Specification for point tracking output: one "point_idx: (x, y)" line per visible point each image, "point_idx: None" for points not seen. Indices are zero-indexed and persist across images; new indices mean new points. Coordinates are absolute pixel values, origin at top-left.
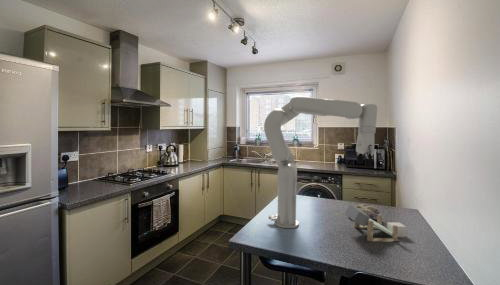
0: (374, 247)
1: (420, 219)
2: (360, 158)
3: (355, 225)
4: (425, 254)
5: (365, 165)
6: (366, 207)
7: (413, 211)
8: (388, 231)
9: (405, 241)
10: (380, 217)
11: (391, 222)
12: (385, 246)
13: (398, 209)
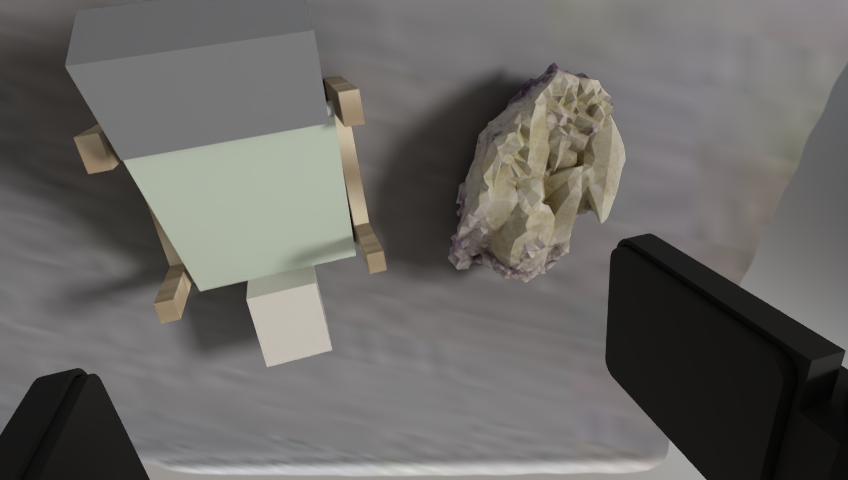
0: (27, 129)
1: (527, 446)
2: (709, 397)
3: (329, 80)
4: (53, 369)
5: (27, 404)
6: (529, 208)
7: (632, 441)
8: (201, 259)
9: (200, 320)
10: (366, 259)
11: (321, 306)
12: (76, 199)
13: None
